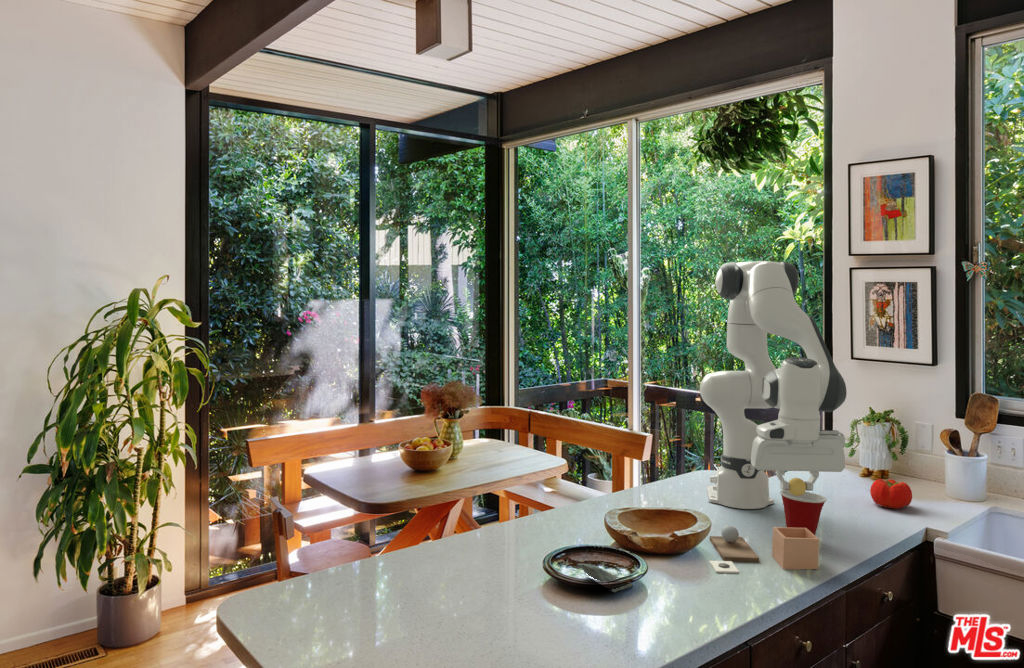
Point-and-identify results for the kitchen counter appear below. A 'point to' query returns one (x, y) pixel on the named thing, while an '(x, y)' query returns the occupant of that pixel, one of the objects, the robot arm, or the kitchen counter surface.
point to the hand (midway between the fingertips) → (796, 489)
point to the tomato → (891, 493)
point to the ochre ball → (797, 486)
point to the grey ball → (730, 534)
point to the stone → (601, 575)
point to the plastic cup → (802, 510)
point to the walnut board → (734, 550)
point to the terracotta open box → (795, 548)
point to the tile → (724, 567)
